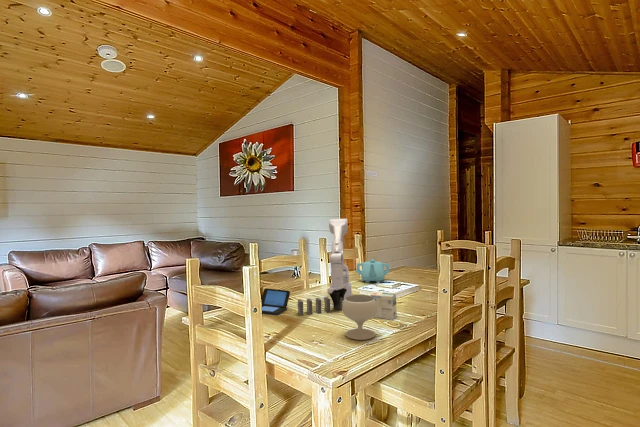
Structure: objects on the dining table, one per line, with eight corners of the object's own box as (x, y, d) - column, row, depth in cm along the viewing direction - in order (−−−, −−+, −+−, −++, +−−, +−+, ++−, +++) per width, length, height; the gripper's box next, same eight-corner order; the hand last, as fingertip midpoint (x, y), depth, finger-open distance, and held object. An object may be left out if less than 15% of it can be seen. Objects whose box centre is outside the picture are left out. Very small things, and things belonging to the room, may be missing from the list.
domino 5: (335, 308, 187) (335, 296, 187) (342, 310, 185) (342, 297, 185) (333, 309, 186) (333, 296, 186) (340, 311, 184) (340, 297, 183)
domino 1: (301, 312, 183) (300, 299, 182) (303, 315, 178) (302, 301, 178) (298, 313, 182) (297, 299, 182) (300, 315, 178) (299, 302, 178)
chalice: (353, 344, 142) (352, 305, 141) (337, 332, 155) (336, 296, 154) (384, 337, 148) (384, 300, 147) (366, 326, 160) (365, 292, 160)
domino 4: (327, 309, 186) (327, 296, 186) (330, 312, 182) (330, 299, 182) (324, 310, 186) (324, 297, 186) (327, 312, 182) (326, 299, 181)
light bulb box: (396, 315, 175) (396, 292, 174) (393, 320, 168) (393, 296, 168) (374, 313, 179) (374, 290, 179) (370, 317, 173) (370, 294, 172)
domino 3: (319, 310, 185) (318, 297, 185) (321, 313, 181) (321, 299, 181) (315, 311, 185) (315, 298, 184) (318, 313, 180) (317, 300, 180)
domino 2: (310, 311, 184) (309, 298, 184) (312, 314, 180) (312, 300, 179) (307, 312, 183) (306, 298, 183) (309, 314, 179) (308, 301, 179)
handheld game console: (250, 312, 185) (249, 294, 185) (264, 305, 198) (264, 288, 197) (277, 316, 179) (277, 296, 179) (291, 308, 191) (290, 290, 191)
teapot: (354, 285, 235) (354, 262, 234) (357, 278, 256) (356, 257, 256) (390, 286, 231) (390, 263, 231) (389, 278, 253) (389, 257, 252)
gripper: (338, 273, 193) (339, 299, 194) (322, 279, 181) (322, 306, 182) (350, 275, 189) (351, 301, 189) (334, 280, 177) (335, 309, 178)
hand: (338, 304), depth 185 cm, fingers open, 4 cm apart
